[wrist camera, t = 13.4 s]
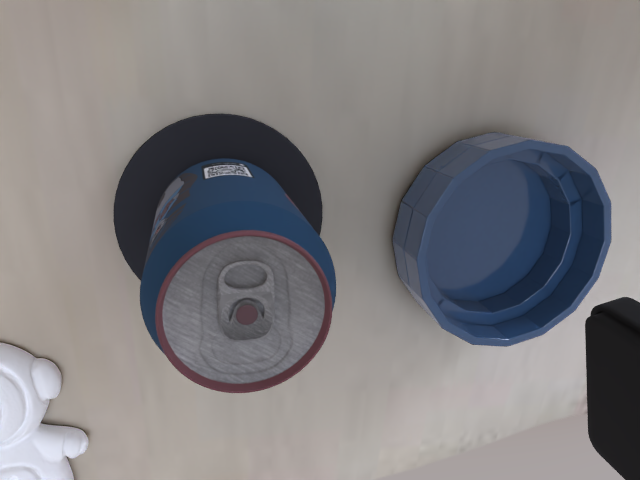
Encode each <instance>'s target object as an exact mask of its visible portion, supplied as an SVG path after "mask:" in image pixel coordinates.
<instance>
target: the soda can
mask: <svg viewBox="0 0 640 480" xmlns="http://www.w3.org/2000/svg"><path fill="white" fill-rule="evenodd" d="M335 296H336V277H335V270H334V266H333V262H332V259H331V256H330V254H329V252H328V249H327V247H326V246H325V244H324V242H323V241H322V239H321V238H320V236H319V235H318V234H317V233H316V231H315V230H314V229H313V227H312V226H311V225H310V224H309V222H308V221H307V220H306V218H305V217H304V216H303V215H302V213H301V212H300V211H299V209H298V208H297V207H296V205H295V204H294V203H293V202H292V200H291V199H290V198H289V196H288V195H287V194H286V193H285V191H284V190H283V189H282V187H281V186H280V185H279V184H278V182H277V181H276V180H275V179H274V178H273V177H272V176H271V175H270V174H268V173H267V172H266V171H264V170H263V169H261V168H259V167H257V166H256V165H253V164H251V163H248V162H245V161H241V160H236V159H224V158H223V159H212V160H208V161H204V162H201V163H198V164H196V165H194V166H191V167H190V168H188V169H186V170H185V171H183V172H182V173H181V174H179V175H178V176H177V177H176V178H175V179H174V180H173V181H172V182H171V183H170V184H169V185H168V187H167V188H166V190H165V191H164V193H163V195H162V197H161V199H160V201H159V204H158V207H157V211H156V215H155V220H154V224H153V229H152V234H151V238H150V243H149V247H148V252H147V257H146V261H145V266H144V270H143V275H142V280H141V286H140V305H141V311H142V315H143V319H144V322H145V325H146V327H147V330H148V332H149V334H150V335H151V337H152V339H153V340H154V342H155V343H156V345H157V346H158V347H159V348H160V350H161V351H162V352H163V353H164V354H165V355H166V356H167V358H168V359H169V361H170V362H171V363H172V364H173V366H174V367H175V368H176V369H177V370H178V371H179V372H181V373H182V374H183V375H184V376H186V377H187V378H188V379H190V380H192V381H193V382H195V383H197V384H199V385H201V386H204V387H206V388H209V389H212V390H216V391H221V392H228V393H248V392H255V391H260V390H264V389H267V388H270V387H273V386H276V385H278V384H280V383H282V382H284V381H286V380H288V379H289V378H291V377H293V376H294V375H295V374H297V373H298V372H299V371H301V370H302V369H303V368H304V367H305V366H306V365H307V364H308V363H309V362H310V361H311V360H312V359H313V358H314V356H315V355H316V354H317V352H318V351H319V350H320V348H321V346H322V345H323V343H324V341H325V339H326V337H327V334H328V331H329V328H330V324H331V318H332V311H333V307H334V303H335Z"/></svg>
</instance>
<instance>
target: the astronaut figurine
mask: <svg viewBox="0 0 640 480" xmlns="http://www.w3.org/2000/svg"><path fill="white" fill-rule="evenodd" d="M61 380H62V378H61V373H60V371H59V369H58V367H57V366H56V365H55V364H54V363H53V362H51V361H50V360H47V359H44V358H35V357H34V356H33V355H32V354H30V353H28V352H26V351H25V350H22V349H20V348H18V347H15V346H13V345H9V344H6V343H0V480H74V476H73V473H72V470H71V467H70V465H69V462H68V459H67V456H68V457H69V458H75V457H77V456H78V455H79V454H83V453H84V452H85V451H86V449H87V447H88V443H89V442H88V438H87V436H86V434H85V433H84V431H82V430H81V429H78V428H74V427H67V426H56V425H47V424H42V423H40V422H41V421H42V419H43V417H44V415H45V413H46V410H47V408H48V404H49V399H54V398H55V397H57V396H58V394H59V392H60V389H61Z"/></svg>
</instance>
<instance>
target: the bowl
mask: <svg viewBox="0 0 640 480" xmlns="http://www.w3.org/2000/svg"><path fill="white" fill-rule="evenodd" d="M610 243H611V201H610V199H609V197H608V194H607V192H606V190H605V187H604V185H603V183H602V181H601V178H600V176H599V174H598V171H597V170H596V168H595V167H593V166H592V165H591V164H590V163H588V162H587V161H586V160H585V159H583V158H582V157H581V156H580V155H578V154H577V153H576V152H575V151H573V150H572V149H571V148H570V147H568V146H564V145H559V144H555V143H550V142H545V141H540V140H535V139H530V138H525V137H519V136H514V135H509V134H503V133H498V132H491V133H488V134H484V135H480V136H476V137H472V138H468V139H465V140H461V141H457V142H456V143H454V144H453V145H452V146H450V147H449V148H448V149H446V150H445V151H444V152H442V153H441V154H440V155H438V156H437V157H436V158H434V159H433V160H432V161H430V162H429V163H428V164H426V165H425V166H424V167H423V168H422V170H421V172H420V173H419V175H418V176H417V178H416V179H415V181H414V182H413V184H412V185H411V187H410V188H409V190H408V191H407V193H406V194H405V196H404V198H403V199H402V202H401V204H400V208H399V213H398V217H397V222H396V226H395V230H394V235H393V247H394V253H395V259H396V265H397V271H398V275H399V277H400V279H401V280H402V282H403V283H404V284H405V286H406V287H407V289H408V290H409V292H410V293H411V295H412V296H413V298H414V299H415V300H416V302H417V303H418V304H419V305H420V306H421V307H422V308H423V309H424V310H425V311H426V312H427V313H428V314H429V315H430V316H431V317H432V318H433V319H434V320H435V321H436V322H437V323H438V324H439V325H440V326H441V327H442V328H443V329H444V330H446V331H448V332H450V333H452V334H454V335H455V336H457V337H459V338H461V339H463V340H465V341H466V342H468V343H470V344H473V345H488V346H506V347H507V346H511V345H514V344H517V343H520V342H523V341H526V340H529V339H532V338H535V337H538V336H541V335H543V334H545V333H546V332H547V331H549V330H550V329H551V328H553V327H554V326H555V325H557V324H558V323H559V322H561V321H562V320H563V319H565V318H566V317H567V316H569V315H570V314H571V313H573V312H574V311H575V310H576V308H577V307H578V306H579V304H580V303H581V302H582V300H583V299H584V297H585V296H586V295H587V293H588V292H589V291H590V289H591V288H592V287H593V285H594V284H595V282H596V281H597V280H598V278H599V275H600V272H601V269H602V267H603V264H604V261H605V258H606V255H607V252H608V249H609V246H610Z"/></svg>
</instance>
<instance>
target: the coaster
mask: <svg viewBox="0 0 640 480" xmlns="http://www.w3.org/2000/svg"><path fill="white" fill-rule="evenodd" d="M223 158H224V159H236V160H241V161H245V162H248V163H251V164H253V165H256V166H257V167H259V168H261V169H263V170H264V171H266V172H267V173H268V174H270V175H271V176H272V177H273V178H274V179H275V180H276V181H277V182H278V184H279V185H280V186H281V187H282V189H283V190H284V191H285V193H286V194H287V195H288V196H289V198H290V199H291V200H292V202H293V203H294V204H295V205H296V207H297V208H298V209H299V211H300V212H301V213H302V215H303V216H304V217H305V218H306V220H307V221H308V222H309V224H310V225H311V226H312V227H313V229H314V230H315V231H316V233H317V234H318V235H320V232H321V225H322V201H321V194H320V190H319V186H318V183H317V180H316V178H315V175H314V173H313V171H312V169H311V167H310V165H309V164H308V162H307V160H306V159H305V157H304V156H303V155H302V154H301V152H300V151H299V150H298V149H297V147H296V146H294V145H293V144H292V143H291V142H290V141H289V140H288V139H287V138H286V137H284V136H283V135H282V134H280V133H279V132H278V131H276V130H275V129H273V128H271V127H269V126H267V125H265V124H263V123H261V122H258V121H256V120H253V119H251V118H247V117H242V116H238V115H231V114H205V115H199V116H193V117H190V118H187V119H184V120H180V121H178V122H176V123H174V124H171V125H169V126H167V127H165V128H164V129H162V130H161V131H159V132H158V133H156V134H154V135H153V136H152V137H151V138H150V139H149V140H147V141H146V142H145V143H144V144H143V145H142V146H141V147H140V148H139V150H138V151H137V152H136V153H135V154H134V156H133V157H132V159H131V160H130V162H129V163H128V165H127V166H126V168H125V170H124V172H123V174H122V176H121V179H120V181H119V185H118V188H117V191H116V196H115V202H114V225H115V232H116V237H117V240H118V243H119V247H120V249H121V251H122V254H123V256H124V258H125V260H126V261H127V263H128V265H129V266H130V268H131V269H132V271H133V272H134V273H135V274H136V276H137V277H138V278H139V279H140V280H142V275H143V270H144V266H145V261H146V257H147V252H148V247H149V243H150V238H151V234H152V229H153V224H154V220H155V215H156V211H157V207H158V204H159V201H160V199H161V197H162V195H163V193H164V191H165V190H166V188H167V187H168V185H169V184H170V183H171V182H172V181H173V180H174V179H175V178H176V177H177V176H178V175H179V174H181V173H182V172H183V171H185V170H186V169H188V168H190V167H191V166H194V165H196V164H198V163H201V162H204V161H208V160H212V159H223Z"/></svg>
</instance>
